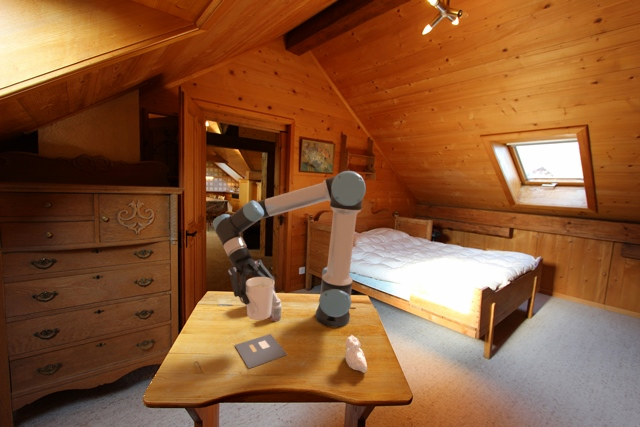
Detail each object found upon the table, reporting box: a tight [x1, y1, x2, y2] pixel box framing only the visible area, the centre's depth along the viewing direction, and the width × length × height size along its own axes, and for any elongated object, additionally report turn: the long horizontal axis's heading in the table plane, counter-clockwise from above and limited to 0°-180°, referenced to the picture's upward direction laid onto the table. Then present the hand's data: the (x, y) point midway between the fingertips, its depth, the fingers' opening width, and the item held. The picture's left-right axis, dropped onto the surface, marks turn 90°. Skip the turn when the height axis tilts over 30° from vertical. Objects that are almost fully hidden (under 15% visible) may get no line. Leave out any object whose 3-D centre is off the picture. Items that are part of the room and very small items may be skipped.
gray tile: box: [234, 333, 289, 370], centre depth 100 cm, size 14×14×1 cm
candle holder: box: [246, 276, 275, 321], centre depth 98 cm, size 10×10×12 cm
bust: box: [344, 334, 368, 374], centre depth 94 cm, size 12×8×11 cm
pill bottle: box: [269, 297, 282, 322], centre depth 121 cm, size 5×5×8 cm
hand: (265, 306), depth 97 cm, fingers closed on candle holder, 9 cm apart
